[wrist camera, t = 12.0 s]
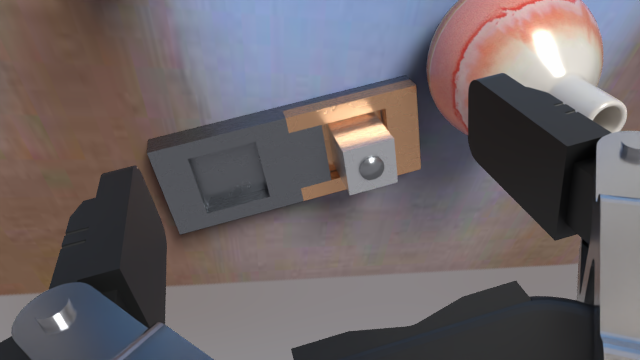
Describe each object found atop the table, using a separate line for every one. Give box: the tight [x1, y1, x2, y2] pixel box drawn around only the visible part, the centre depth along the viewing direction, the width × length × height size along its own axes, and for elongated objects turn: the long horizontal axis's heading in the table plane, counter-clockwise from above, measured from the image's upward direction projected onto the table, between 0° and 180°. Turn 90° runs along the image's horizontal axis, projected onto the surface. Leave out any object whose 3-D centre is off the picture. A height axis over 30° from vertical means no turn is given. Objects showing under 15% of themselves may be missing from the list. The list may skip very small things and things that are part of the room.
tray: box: [147, 75, 421, 234], centre depth 48 cm, size 24×9×2 cm, turn 100°
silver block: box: [327, 112, 398, 195], centre depth 46 cm, size 4×4×6 cm
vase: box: [426, 0, 627, 135], centre depth 40 cm, size 14×14×18 cm
